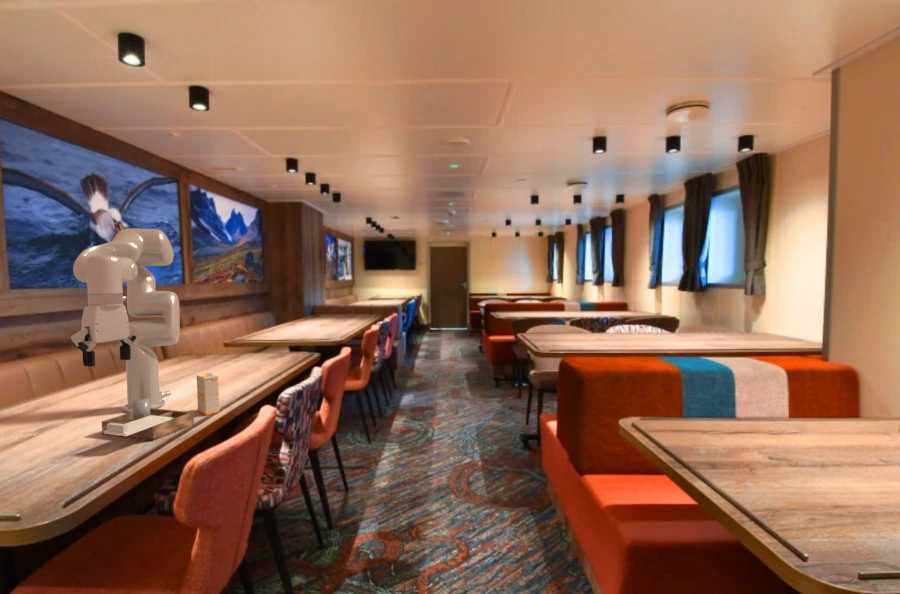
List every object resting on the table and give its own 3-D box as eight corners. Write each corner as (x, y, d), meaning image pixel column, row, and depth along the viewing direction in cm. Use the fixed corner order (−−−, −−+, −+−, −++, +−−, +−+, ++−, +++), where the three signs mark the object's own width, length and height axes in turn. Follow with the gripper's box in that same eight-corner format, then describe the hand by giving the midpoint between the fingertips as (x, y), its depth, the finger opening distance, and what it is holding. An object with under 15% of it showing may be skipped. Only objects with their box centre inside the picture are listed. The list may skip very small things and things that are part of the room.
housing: (145, 419, 145) (145, 407, 144) (193, 424, 139) (193, 412, 139) (102, 434, 131) (101, 421, 131) (153, 440, 126) (153, 427, 126)
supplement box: (220, 412, 151) (219, 375, 151) (205, 415, 148) (204, 378, 147) (212, 407, 157) (210, 372, 156) (197, 410, 153) (195, 374, 153)
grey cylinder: (139, 421, 140) (138, 397, 140) (157, 423, 138) (156, 398, 138) (122, 427, 135) (121, 402, 134) (140, 429, 133) (139, 404, 132)
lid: (150, 417, 133) (150, 408, 133) (171, 419, 131) (170, 410, 131) (103, 433, 120) (103, 424, 120) (125, 436, 118) (125, 426, 118)
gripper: (126, 299, 128) (128, 357, 128) (60, 302, 111) (62, 368, 112) (146, 299, 126) (148, 358, 126) (81, 301, 109) (84, 369, 110)
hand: (108, 362), depth 119 cm, fingers open, 9 cm apart
